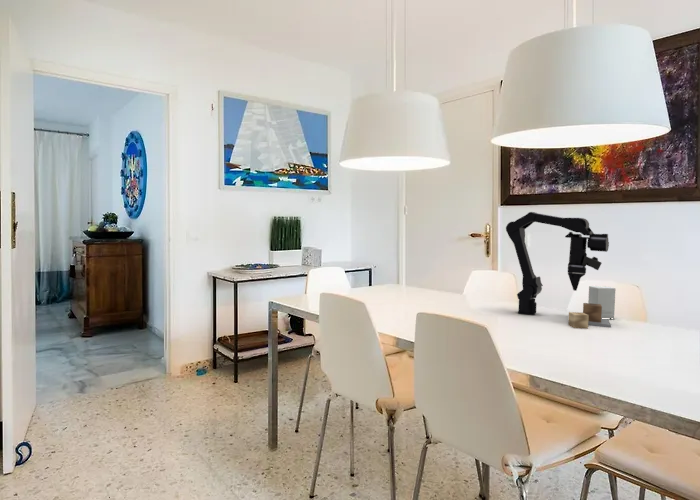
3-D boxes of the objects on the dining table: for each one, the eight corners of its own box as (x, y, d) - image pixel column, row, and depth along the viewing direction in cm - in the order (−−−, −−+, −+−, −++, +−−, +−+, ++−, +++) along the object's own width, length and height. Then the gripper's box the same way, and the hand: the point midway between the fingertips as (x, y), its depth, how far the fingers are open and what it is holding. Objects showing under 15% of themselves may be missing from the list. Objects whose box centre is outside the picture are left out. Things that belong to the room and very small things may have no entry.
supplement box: (614, 319, 186) (616, 288, 185) (596, 319, 186) (597, 287, 186) (605, 316, 193) (606, 285, 193) (587, 315, 194) (588, 285, 193)
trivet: (574, 324, 176) (574, 321, 176) (573, 318, 187) (574, 316, 187) (610, 327, 171) (611, 324, 171) (607, 321, 182) (608, 319, 182)
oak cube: (573, 328, 169) (574, 314, 168) (568, 325, 174) (568, 312, 173) (587, 328, 168) (588, 315, 168) (582, 325, 173) (582, 312, 173)
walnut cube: (583, 320, 177) (584, 305, 177) (582, 318, 183) (583, 302, 182) (601, 322, 175) (601, 306, 174) (599, 319, 180) (600, 304, 180)
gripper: (602, 252, 171) (599, 294, 172) (599, 250, 188) (596, 288, 189) (569, 250, 176) (566, 291, 177) (569, 248, 193) (566, 285, 194)
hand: (574, 289), depth 184 cm, fingers open, 9 cm apart
